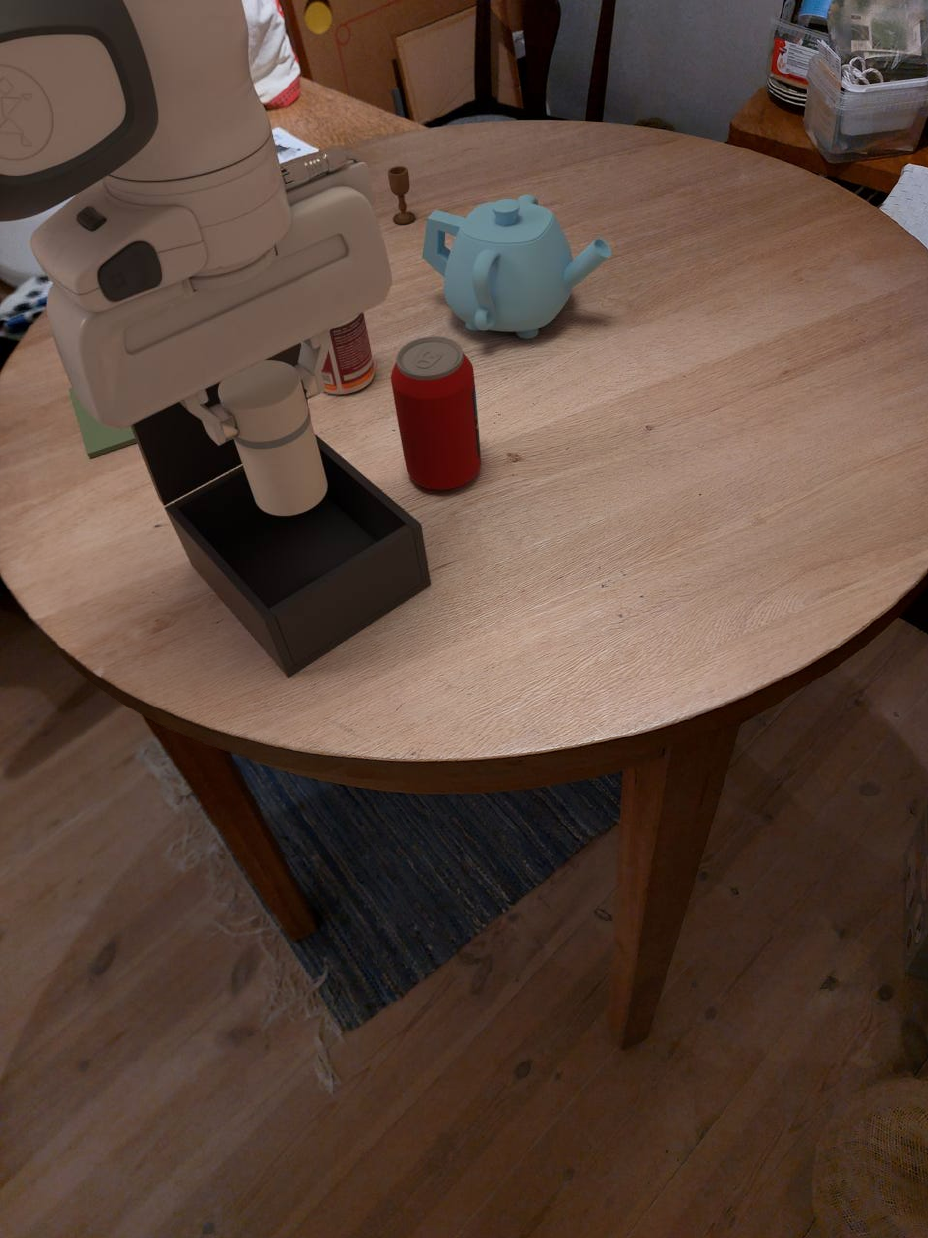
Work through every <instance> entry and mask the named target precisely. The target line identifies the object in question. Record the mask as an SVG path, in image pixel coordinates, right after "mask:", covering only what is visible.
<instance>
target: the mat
mask: <svg viewBox="0 0 928 1238" xmlns="http://www.w3.org/2000/svg"><path fill="white" fill-rule="evenodd" d="M68 391H69V392H68V393H69V395H70V398H71V402H72V406H73V409H74V412H75V416H76V419H77V423H78V428H79V430H80V433H81V437H82V441H83V444H84V447H85V452H86V455H87V457H88V458H89V459H93V458H96V457H99V456H103V455H105V454H108V453H111V452H114V451H116V450H120V449H123V448H126V447H128V446H131V445H134V444H137V441H136V439H135V436H134V433H133V431H132V428H131V426H129V427H127V428H124V429H121V430H116V429H113V428H110V427H108V426H105V425H103V424H101V423H99V422H98V421H96V420H95V419H94V418H93V417H92V416H91V415H90V414H89V412H88V411H87V410H86V409H85V407H84V406H83V405H82V404H81V402H80V401H79V399H78V397H77V396H76V394H75V392H74V390H73V388H72V387H70V388H68Z"/></svg>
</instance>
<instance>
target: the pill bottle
mask: <svg viewBox="0 0 928 1238" xmlns="http://www.w3.org/2000/svg"><path fill="white" fill-rule="evenodd" d="M364 313H365V312H362V313H360V314H358V315H356V316H354V317H352V318H350V319H348V320H346V321H344V322H342V323H340V324H338V325H336V326H334V327H332V328H330V329H329V334H330V339H331V344H330V347H329V350H328V353H327V357H326V360H325V363H324V366H323V370H321V373H322V377H323V382H324V386H325V391H324V392H325V393H328V394H330V395H349V394H351V393H352V394H353V393H355V392H358V391H361V390H363V389H364V388H366V387H367V386H368V385H369V384H370V383H371V382H372V381H373V379H374V376H375V374H376V368H375V367H376V366H375V362H374V356H373V354H372V353H373V352H372V347H371V342H370V338H369V333H368V327H367V323H366V318H365V314H364Z"/></svg>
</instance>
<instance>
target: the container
mask: <svg viewBox="0 0 928 1238" xmlns="http://www.w3.org/2000/svg"><path fill="white" fill-rule="evenodd" d="M218 396H219V399H220V402H221V404H222V406H223V407H224V409H225V410H227V411H228V412H230V413H231V414H232V415H233V417H234V420H235V423H236V425H235V427H236V428H237V429H238V431H239V436H237V437H235V438H233V439H234V441H235V444H236V447H237V450H238V453H239V456H240V459H241V461H242V464H241V465H243V467H244V470H245V473H246V476H247V479H248V481H249V484H250V487H251V490H252V493H253V496H254V499H255V501H256V504H257V505H258V506H259V508H261V509H262V510H263V511H265V512H266V513H269V514H272V515H277V516H291V515H296V514H300V513H303V512H305V511H308V510H310V509H311V508H313V507H314V506H316V505H317V504H318V503H319V502H320V501H321V500H322V499H323V498H324V496H325V494H326V491H327V480H326V476H325V472H324V468H323V464H322V460H321V456H320V453H319V449H318V445H317V441H316V437H315V434H316V433H315V429H314V425H313V421H312V418H311V417H312V416H311V415H312V414H311V411H310V407H309V404H308V405H307V402H306V398H305V395H304V391H303V387H302V383H301V379H300V375H299V373H298V371H297V370H296V369H295V368H294V367H293V366H291V365H289V364H287V363H285V362H281V361H275V360H264V361H262V362H260V363H258V364H256V365H254V366H252V367H249V368H247V369H245V370H243V371H241V372H239V373H237V374H235V375H233V376H231V377H229V378H227V379H225V380H223V381H221V383H220V385H219V388H218Z"/></svg>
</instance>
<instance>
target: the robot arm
mask: <svg viewBox="0 0 928 1238" xmlns="http://www.w3.org/2000/svg"><path fill="white" fill-rule="evenodd" d="M249 33H250V32H249V25H248V20H247V16H246V11H245V7H244V4H243V0H0V222H2V223H5V222H13V221H14V222H15V221H20V220H25V219H29V218H32V217H35V216H38V215H40V214H42V213H45V212H46V211H49V210H50V209H53V208H54V207H56V206H58V205H61V204H62V203H64V202H66V201H67V200H68V201H67V202H66V203H65V204H63V205H62V206H61V208H59V209H58V210H57V211H55V212H54V213H53V214H52V215H50V216H49V217H48V218H47V219H46V220H44V221H43V222H42V223H41V224H40V225H39V226H38V227H36V228H35V229H34V231H33V232H32V233H31V235H30V237H29V247H30V250H31V253H32V254H33V256H34V259H35V260H36V262H37V263H38V265H39V267H40V268H41V270H42V272H43V273H44V274H45V275H46V277H47V278H48V279H49V281H50V282H51V283H52V284H51V286H50V288H49V291H48V293H47V299H46V315H47V320H48V325H49V328H50V332H51V335H52V339H53V342H54V344H55V348H56V351H57V354H58V356H59V359H60V361H61V364H62V367H63V369H64V372H65V374H66V376H67V379H68V381H69V383H70V386H71V388H73V390H74V392H75V394H76V396H77V397H78V399H79V401H80V402H81V404H82V405H83V406H84V407H85V409H86V410H87V411H88V412H89V414H90V415H91V416H92V417H93V418H94V419H95V420H96V421H98V422H99V423H101V424H103V425H105V426H108V427H110V428H113V429H116V430H121V429H124V428H127V427H129V426H131V425H133V424H135V423H137V422H139V421H141V420H143V419H145V418H147V417H149V416H151V415H153V414H155V413H157V412H159V411H161V410H163V409H165V408H167V407H169V406H171V405H173V404H176V403H178V402H180V403H181V404H182V405H183V406H184V407H185V408H186V409H187V410H188V411H189V412H190V413H192V414H193V415H195V416H196V417H198V418H199V419H201V420H202V422H203V424H204V427H205V430H206V432H207V433H208V435H209V437H210V438H211V439H212V440H213V441H214V442H215V443H216V444H217V445H221V444H223V443H225V442H227V441H229V440H231V439H233V438H235V437H237V436H239V431H238V429H237V428H236V427H235V425H236V423H235V420H234V417H233V415H232V414H231V413H230V412H228V411H227V410H225V409H224V407H223V406H222V405H221V404H220V403H218V404H216V405H214V406H212V407H209V408H208V407H206V406H205V405H203V404H205V403H207V402H208V400H209V399H208V396H207V393H206V391H205V389H206V388H208V387H210V386H212V385H215V384H217V383H219V382H221V381H223V380H225V379H227V378H229V377H231V376H233V375H235V374H237V373H239V372H241V371H243V370H245V369H247V368H249V367H252V366H254V365H256V364H258V363H260V362H262V361H264V360H266V359H268V358H270V357H272V356H274V355H276V354H278V353H280V352H282V351H284V350H286V349H288V348H291V347H293V346H295V345H297V344H299V343H301V350H300V355H299V360H298V364H296V365H294V366H293V367H294V368H295V369H296V370H297V371H298V373H299V375H300V379H301V383H302V387H303V391H304V395H305V398H306V400H310V399H312V398H314V397H317V396H318V395H321V394H322V393H324V392H325V386H324V382H323V377H322V373H321V370H323V366H324V363H325V360H326V357H327V353H328V350H329V347H330V344H331V339H330V334H329V329H330V328H332V327H334V326H336V325H338V324H340V323H342V322H344V321H346V320H348V319H350V318H352V317H354V316H356V315H358V314H360V313H362V312H363V313H365V312H367V311H368V310H371V309H373V308H375V307H377V306H379V305H381V304H383V303H385V302H386V300H387V299H388V295H389V293H390V290H391V288H392V285H393V274H392V273H393V272H392V268H391V264H390V259H389V256H388V251H387V248H386V244H385V241H384V236H383V234H382V230H381V227H380V224H379V221H378V218H377V216H376V214H375V211H374V209H373V208H374V203H375V202H374V201H375V196H374V195H375V194H374V187H373V182H372V181H373V180H372V174H371V170H370V168H369V165H368V164H367V163H366V162H365V160H364V159H363V158H362V156H361V155H360V154H358V153H356V152H353V151H345V149H343V148H342V147H340V146H338V147H331V148H328V149H325V150H323V151H321V152H320V153H319V154H318V155H315V156H313V157H311V158H308V159H303V160H300V161H299V160H298V161H296V162H293V163H290V164H288V165H285V166H283V167H281V164H280V163H281V162H280V159H279V155H278V150H277V146H276V142H275V138H274V134H273V130H272V124H271V121H270V118H269V115H268V112H267V110H266V108H265V106H264V104H263V102H262V100H261V99H260V97H259V94H258V92H257V90H256V88H255V84H254V81H253V79H252V74H251V67H250V60H249V55H250V54H249V47H250V46H249V43H250V42H249V41H250V34H249ZM348 160H349V161H348Z"/></svg>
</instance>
